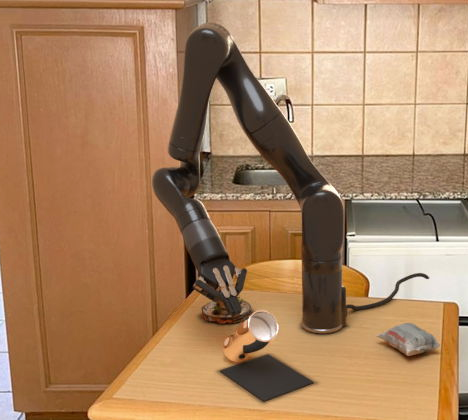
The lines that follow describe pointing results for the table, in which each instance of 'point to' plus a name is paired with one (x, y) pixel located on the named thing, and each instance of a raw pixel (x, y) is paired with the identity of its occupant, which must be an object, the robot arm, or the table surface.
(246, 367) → the mat
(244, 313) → the floral plate with food
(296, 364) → the table surface
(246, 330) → the copper cup
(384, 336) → the packaged food
